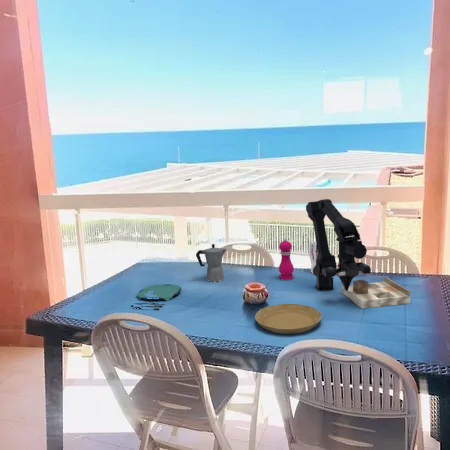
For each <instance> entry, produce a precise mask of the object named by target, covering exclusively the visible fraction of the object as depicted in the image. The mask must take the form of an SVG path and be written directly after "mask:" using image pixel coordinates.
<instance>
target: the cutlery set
mask: <svg viewBox="0 0 450 450" xmlns="http://www.w3.org/2000/svg"><path fill="white" fill-rule="evenodd" d="M152 290H153V291H154V292H153V295H157V296H158V297H157V296H156V297H149V298H152V299H147V298H148V296H147V297H146V295H145V294H144V293H146V294H147V292H148V291H152ZM181 291H182V286H179V284H167V283H166V284H154V285H153V284H152V285H149V286H146V287H144V288H142V289H141V290H139V291H138V292H137V294H136V297H137V298H138V299H139V298H142V299H141V300H148V301H150V302H149V303H151V302H152V301H160V300H165V301H168V300H167V299H170V300H171V299H172V298H173V297H174V296H177V295H179V294H180V293H181ZM151 294H152V293H151ZM144 295H145V296H144ZM153 298H159V299H153ZM153 305H154V306H153V307H155V308H156V309H159V308H160V307H157V306H162V307H164V306H163V305H164V304H153Z"/></svg>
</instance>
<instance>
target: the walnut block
mask: <svg viewBox="0 0 450 450" xmlns="http://www.w3.org/2000/svg"><path fill="white" fill-rule="evenodd" d="M368 283H369V282H368V281H366V280H365V279H356V280H355V279H354V280H352V285H353V291H354V292H355V293H357V294H367V293H368Z"/></svg>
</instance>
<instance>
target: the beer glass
mask: <svg viewBox="0 0 450 450" xmlns="http://www.w3.org/2000/svg"><path fill="white" fill-rule="evenodd" d="M308 246H309V247H308V249H309V250H308V252H309V253H308V254H309V259H310V264H311V267H310V273H311V272H312V273H311V274H313V269H314V267H315V266H316V259H317V256H318V249H317V243H316V241H311V242H309V245H308Z"/></svg>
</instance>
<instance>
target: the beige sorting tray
mask: <svg viewBox="0 0 450 450" xmlns="http://www.w3.org/2000/svg"><path fill="white" fill-rule="evenodd" d="M341 293H342V294H344V295H345V296H346V297H347V298H348V299H350V301H352V302H353V303H354V304H355V305H357V306H358V307H359V308H361V309H369V308H370V309H371V308H378V307H379V308H380V307H388V306H396V305H407V304H409V305H410V304H411V290H410V289H407V288H405V287H404V286H402V285H401V284H399V283H397V282H395V281H393V280H392V279H390V278H388V277H386V276H384V277H383V281H379V282H378V281H377V282H368V293H367V294H357V293H355V292H354V291H353V284H350V286H349V289H348V291H345V289H344V287H343V285H341Z"/></svg>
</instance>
